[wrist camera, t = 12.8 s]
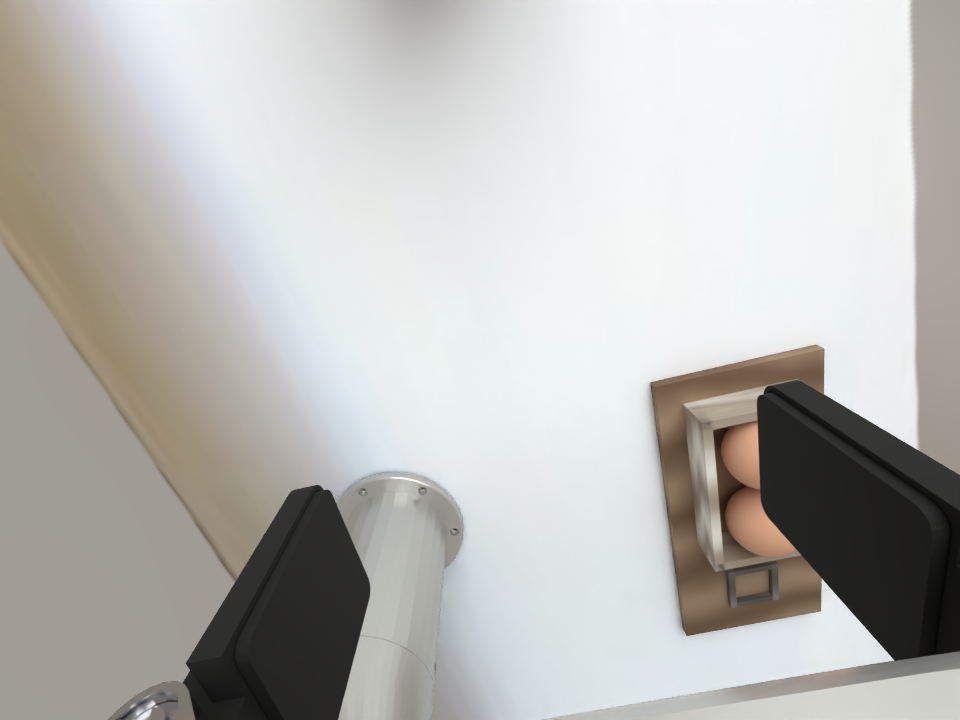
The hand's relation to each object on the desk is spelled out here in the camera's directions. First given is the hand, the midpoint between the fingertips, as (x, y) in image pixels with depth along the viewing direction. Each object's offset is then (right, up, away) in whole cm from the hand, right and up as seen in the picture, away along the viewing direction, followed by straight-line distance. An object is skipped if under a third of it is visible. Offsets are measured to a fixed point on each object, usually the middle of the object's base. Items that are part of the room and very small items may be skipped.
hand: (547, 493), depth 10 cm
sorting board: (+24, -11, +35) cm, 43 cm away
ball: (+22, -5, +28) cm, 36 cm away
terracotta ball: (+23, -11, +30) cm, 40 cm away
